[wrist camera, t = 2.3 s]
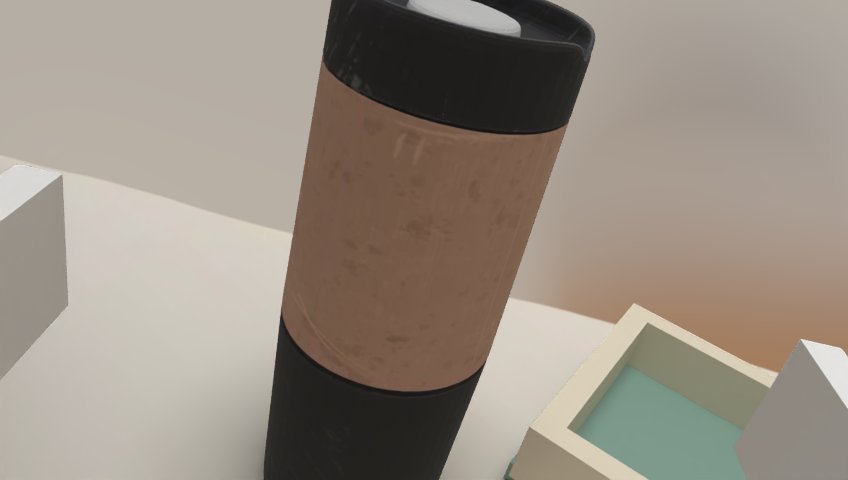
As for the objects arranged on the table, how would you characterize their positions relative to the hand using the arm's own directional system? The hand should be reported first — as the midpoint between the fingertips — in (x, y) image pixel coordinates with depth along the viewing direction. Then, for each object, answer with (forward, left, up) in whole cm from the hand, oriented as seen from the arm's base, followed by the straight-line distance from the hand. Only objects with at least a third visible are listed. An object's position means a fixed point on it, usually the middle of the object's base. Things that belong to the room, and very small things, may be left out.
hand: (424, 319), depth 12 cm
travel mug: (-5, +8, -16) cm, 19 cm away
